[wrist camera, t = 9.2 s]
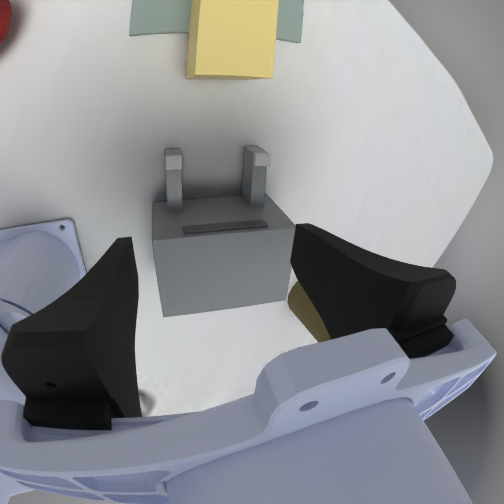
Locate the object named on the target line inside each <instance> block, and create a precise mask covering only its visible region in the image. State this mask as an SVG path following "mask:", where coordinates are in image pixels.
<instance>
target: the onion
mask: <svg viewBox="0 0 504 504" xmlns="http://www.w3.org/2000/svg"><path fill="white" fill-rule="evenodd" d="M11 18H12V10H11V3H10V1H9V0H0V45H1V44H2V42H3V40H4V38H5V36H6V34H7V32H8V29H9V26H10V22H11Z"/></svg>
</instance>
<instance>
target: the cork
mask: <svg viewBox="0 0 504 504" xmlns="http://www.w3.org/2000/svg"><path fill="white" fill-rule="evenodd" d="M288 305H289V308H290V309H291V310H292V312H293V313H294V314H295V315H296V316H297V318H298V319H299V320H300V321H301V322H302V323H303V325H304V326H305V327H306V328H307V329H308V331H309V332H310V333H311V334H312V335H313V337H314V338H315V339H316V340H317V341H318V342H319V343H320V342H324V341H328V340H331V338H330V336H329V334H328V331H327V329H326V327H325V325H324V323H323V321H322V319H321V317H320V315H319V313H318V312H317V310H316V308H315V307H314V305H313V304H312V302H311V300H310V299H309V297H308V296H307V294H306V292H305V291H304V289H303V288H302V286H301V284H300V283H299V281H298V282H297V283H296V284H295V285H294V287H293V288H292V289H291V291H290V294H289V296H288Z"/></svg>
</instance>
